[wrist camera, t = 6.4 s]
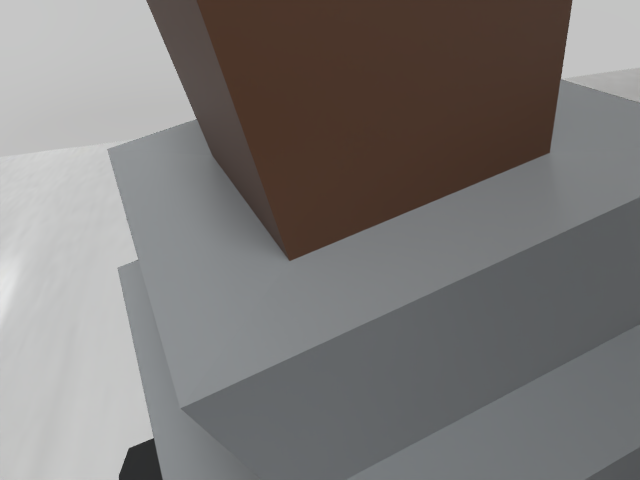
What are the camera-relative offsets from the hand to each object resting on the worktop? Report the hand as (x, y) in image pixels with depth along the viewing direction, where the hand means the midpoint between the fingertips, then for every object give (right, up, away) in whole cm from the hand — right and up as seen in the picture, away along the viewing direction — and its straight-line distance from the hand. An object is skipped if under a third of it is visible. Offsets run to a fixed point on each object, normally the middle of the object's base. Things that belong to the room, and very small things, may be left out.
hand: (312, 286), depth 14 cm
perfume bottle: (+4, -11, +1) cm, 11 cm away
